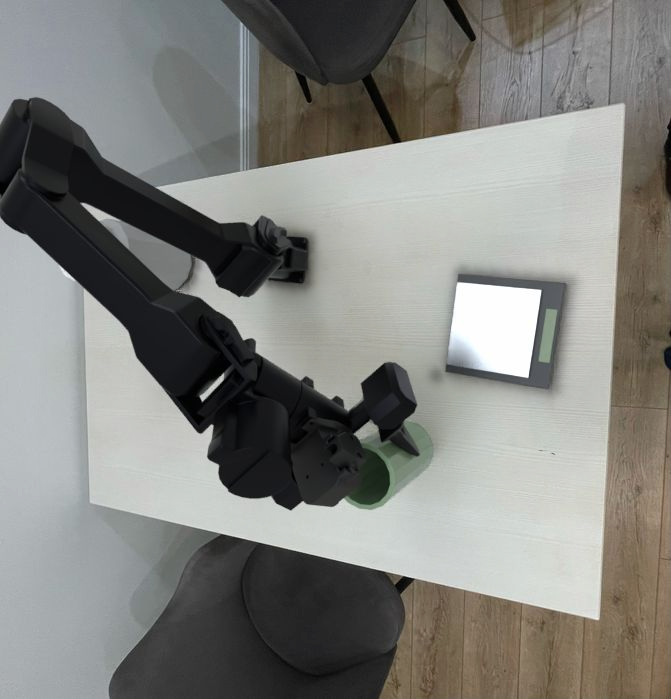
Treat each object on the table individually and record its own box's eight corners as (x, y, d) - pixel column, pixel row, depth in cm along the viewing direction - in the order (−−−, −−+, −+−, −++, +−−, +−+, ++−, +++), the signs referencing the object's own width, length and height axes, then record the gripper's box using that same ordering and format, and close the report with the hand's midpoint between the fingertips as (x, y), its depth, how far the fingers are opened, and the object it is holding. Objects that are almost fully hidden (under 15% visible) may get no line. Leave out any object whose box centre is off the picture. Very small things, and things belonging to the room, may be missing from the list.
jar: (153, 229, 89) (53, 210, 73) (198, 233, 85) (102, 214, 69) (148, 288, 91) (49, 282, 75) (193, 295, 86) (97, 290, 70)
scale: (449, 370, 68) (443, 372, 65) (461, 274, 66) (456, 273, 64) (550, 387, 62) (547, 390, 60) (566, 283, 61) (564, 282, 59)
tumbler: (423, 484, 64) (382, 521, 52) (375, 460, 67) (325, 490, 55) (441, 433, 63) (403, 460, 51) (391, 411, 65) (344, 432, 54)
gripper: (217, 525, 49) (343, 580, 56) (361, 403, 41) (484, 484, 48) (226, 436, 57) (334, 493, 65) (346, 323, 50) (452, 401, 57)
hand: (394, 471), depth 58 cm, fingers closed on tumbler, 7 cm apart
